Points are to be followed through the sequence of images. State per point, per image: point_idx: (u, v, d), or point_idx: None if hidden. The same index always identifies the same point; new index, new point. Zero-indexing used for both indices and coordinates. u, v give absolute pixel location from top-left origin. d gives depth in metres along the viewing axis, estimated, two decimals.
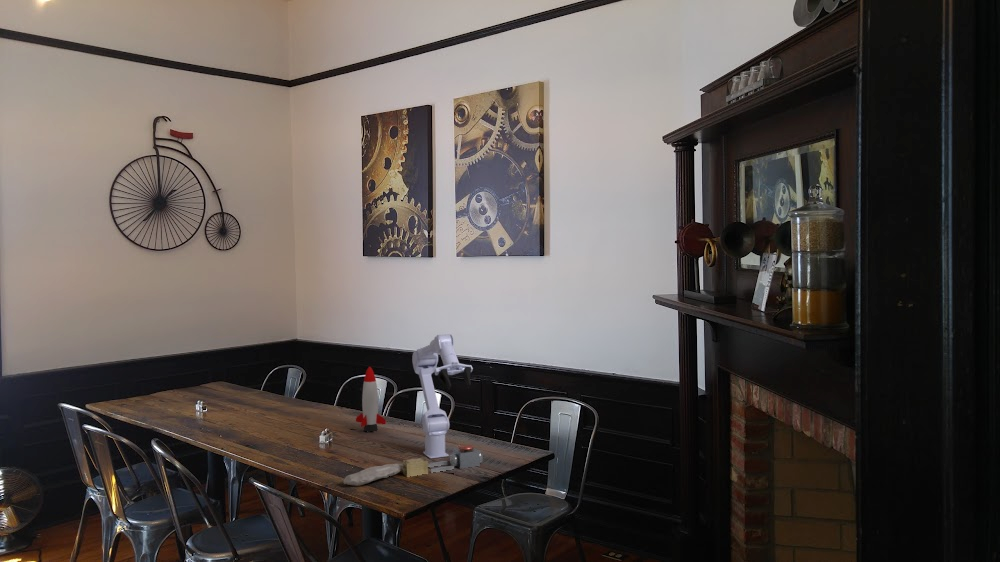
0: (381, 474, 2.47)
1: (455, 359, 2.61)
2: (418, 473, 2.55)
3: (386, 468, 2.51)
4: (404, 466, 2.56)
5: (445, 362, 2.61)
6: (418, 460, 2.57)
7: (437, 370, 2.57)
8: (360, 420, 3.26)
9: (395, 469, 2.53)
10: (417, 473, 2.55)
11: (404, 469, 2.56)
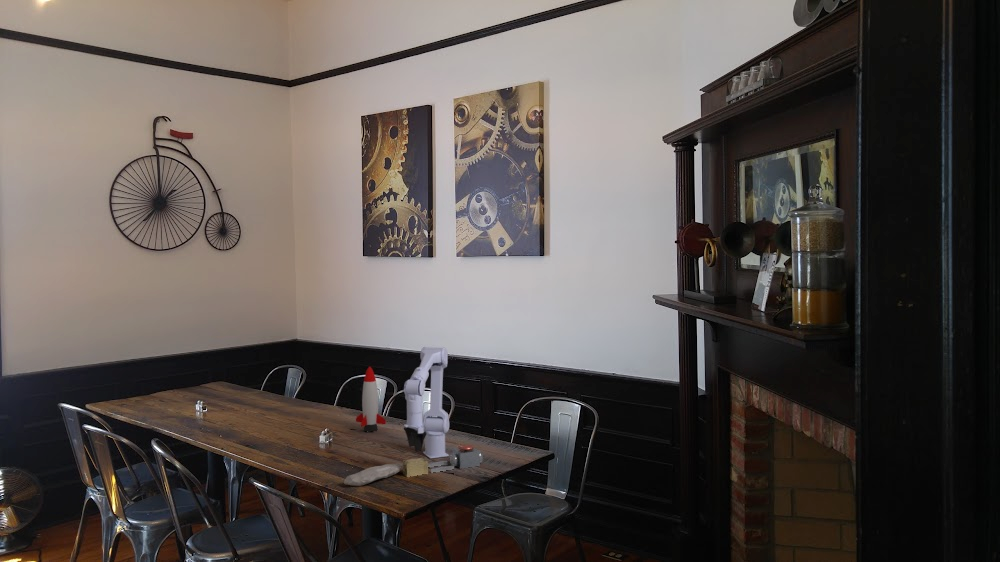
0: (382, 474, 2.47)
1: (408, 419, 2.54)
2: (418, 473, 2.55)
3: (386, 468, 2.51)
4: (404, 466, 2.56)
5: None
6: (418, 460, 2.57)
7: None
8: (360, 420, 3.26)
9: (395, 469, 2.53)
10: (417, 473, 2.55)
11: (404, 469, 2.56)
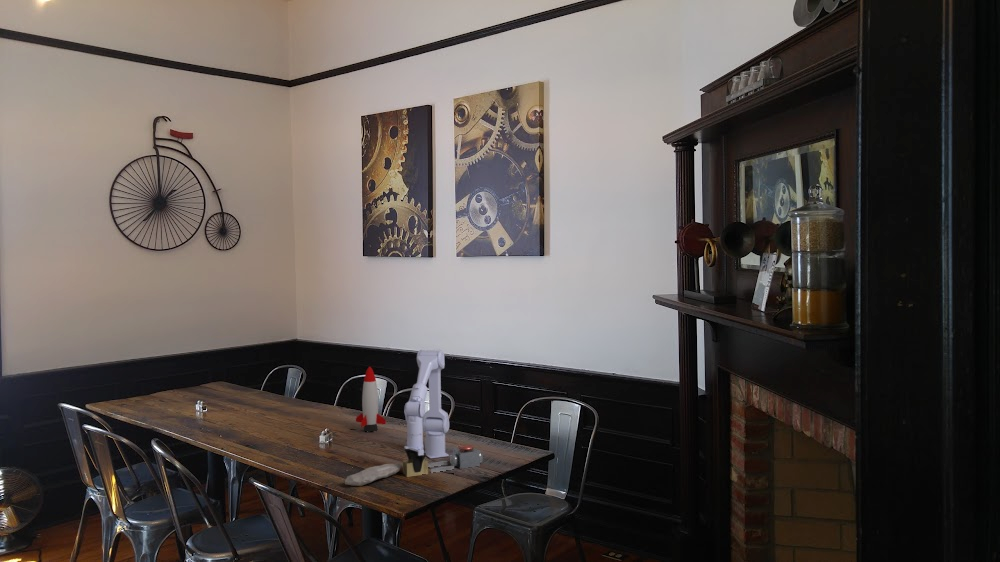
0: (382, 474, 2.47)
1: (408, 441, 2.55)
2: (418, 473, 2.55)
3: (386, 468, 2.52)
4: (404, 466, 2.56)
5: None
6: None
7: None
8: (360, 420, 3.26)
9: (395, 468, 2.54)
10: (417, 473, 2.55)
11: (404, 469, 2.56)
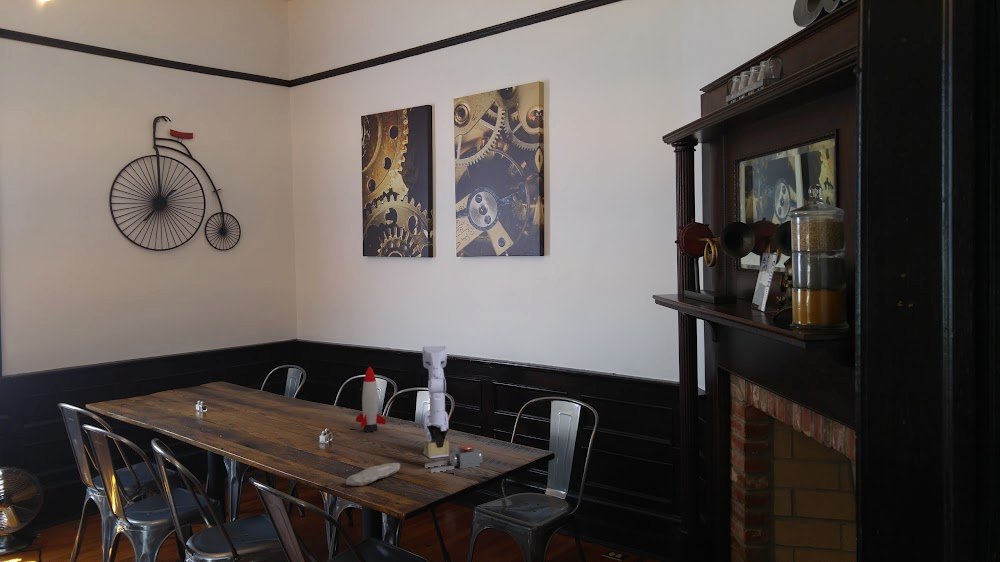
0: (383, 473, 2.48)
1: (431, 417, 2.60)
2: (439, 453, 2.60)
3: (386, 467, 2.52)
4: (425, 446, 2.61)
5: None
6: None
7: (429, 421, 2.68)
8: (360, 420, 3.26)
9: (395, 468, 2.54)
10: (438, 453, 2.60)
11: (425, 449, 2.61)
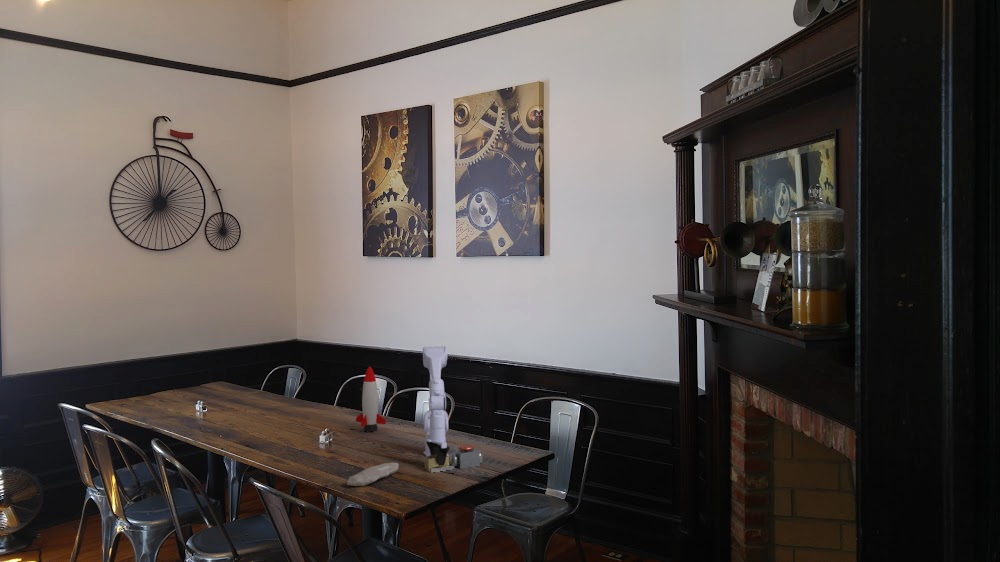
0: (384, 473, 2.48)
1: (431, 434, 2.60)
2: None
3: (386, 467, 2.52)
4: (426, 461, 2.61)
5: None
6: None
7: (429, 438, 2.68)
8: (360, 420, 3.26)
9: (394, 468, 2.55)
10: None
11: (426, 464, 2.61)
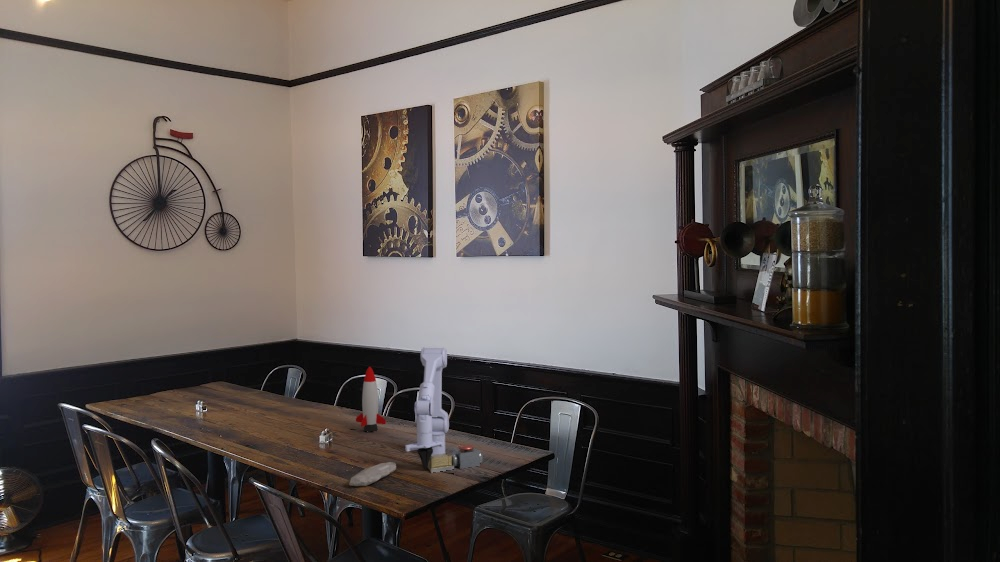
0: (384, 472, 2.49)
1: (429, 439, 2.58)
2: None
3: (386, 466, 2.53)
4: None
5: (418, 439, 2.58)
6: (442, 455, 2.63)
7: (408, 449, 2.57)
8: (360, 420, 3.26)
9: (393, 467, 2.56)
10: None
11: (428, 464, 2.62)
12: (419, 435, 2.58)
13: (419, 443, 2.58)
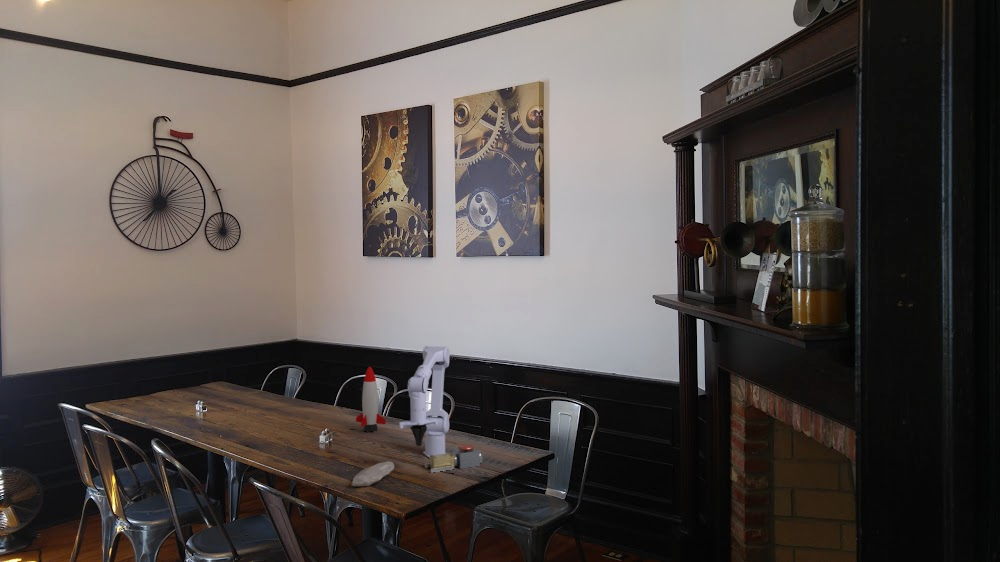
0: (385, 472, 2.50)
1: (422, 416, 2.57)
2: None
3: (385, 466, 2.54)
4: (431, 461, 2.62)
5: (412, 416, 2.57)
6: (444, 455, 2.63)
7: (401, 426, 2.56)
8: (360, 420, 3.26)
9: (392, 466, 2.57)
10: None
11: (431, 464, 2.62)
12: (413, 412, 2.57)
13: (413, 420, 2.57)
